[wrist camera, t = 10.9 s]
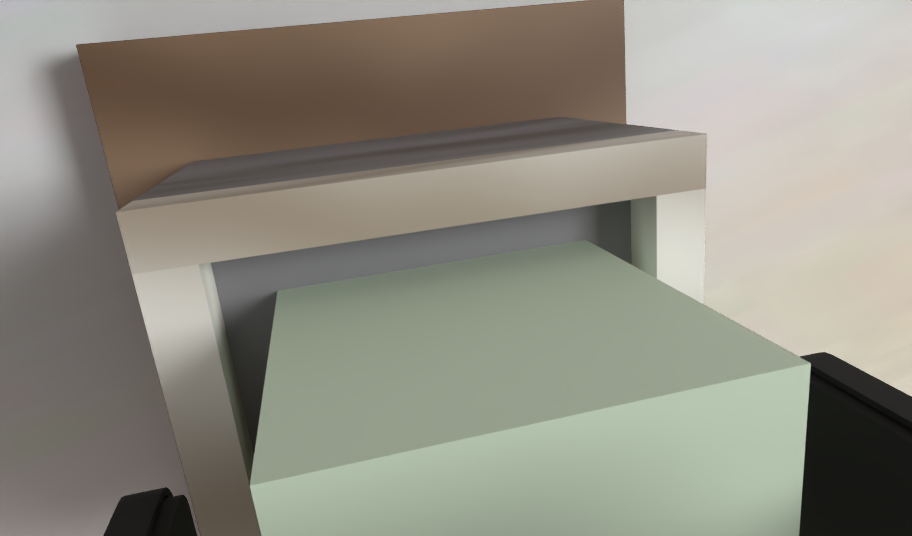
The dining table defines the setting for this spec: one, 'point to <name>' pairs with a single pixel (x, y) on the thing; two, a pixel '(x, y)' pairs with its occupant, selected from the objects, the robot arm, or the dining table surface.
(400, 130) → the pillar base
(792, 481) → the sage block
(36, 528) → the dining table surface
